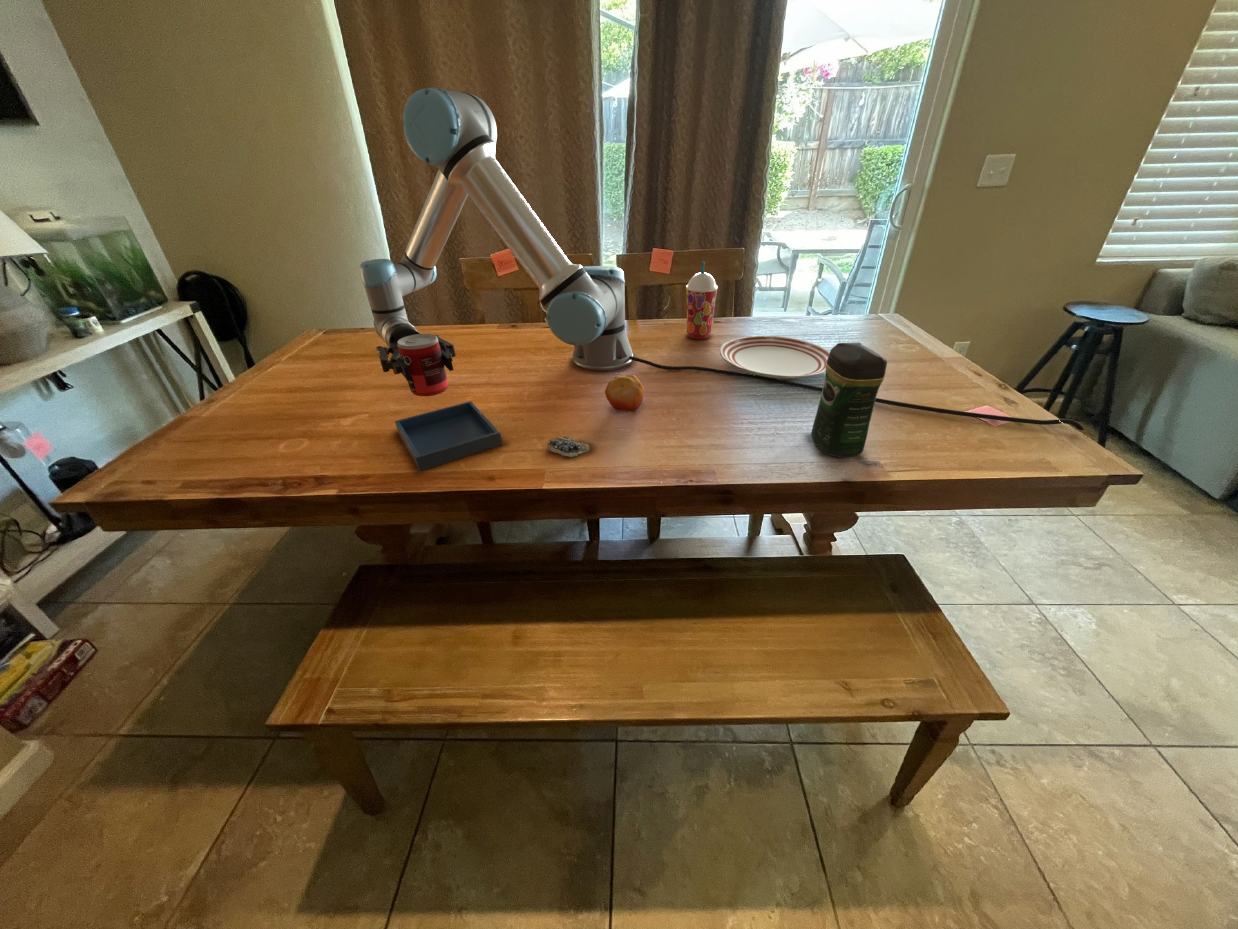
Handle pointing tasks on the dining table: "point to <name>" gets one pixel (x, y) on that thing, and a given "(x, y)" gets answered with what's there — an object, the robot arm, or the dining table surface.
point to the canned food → (423, 364)
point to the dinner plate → (775, 356)
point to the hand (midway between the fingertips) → (429, 369)
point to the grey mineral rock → (567, 447)
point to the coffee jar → (847, 399)
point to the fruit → (625, 393)
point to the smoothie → (700, 304)
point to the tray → (447, 434)
